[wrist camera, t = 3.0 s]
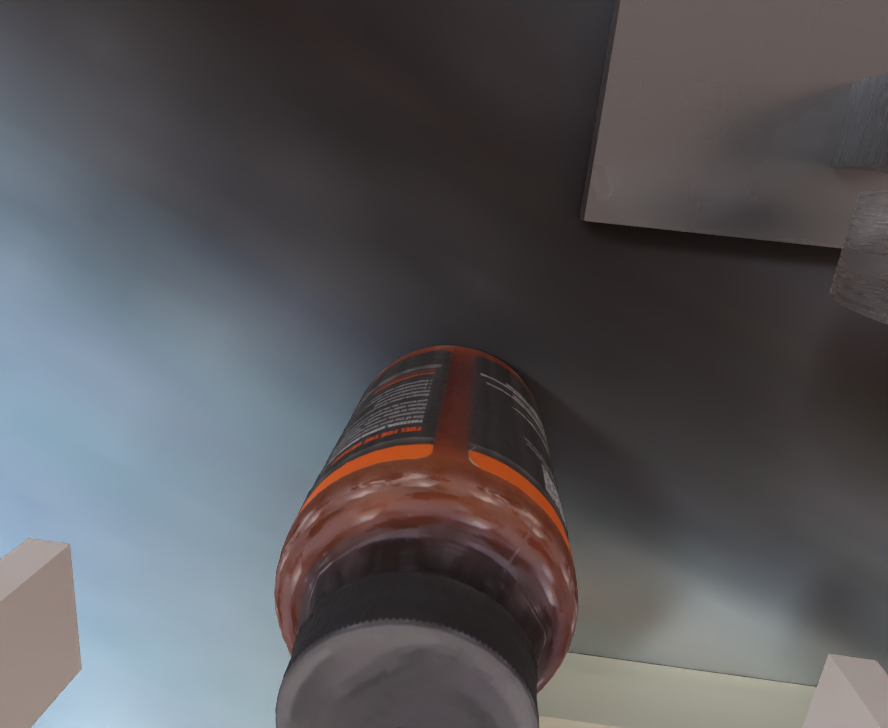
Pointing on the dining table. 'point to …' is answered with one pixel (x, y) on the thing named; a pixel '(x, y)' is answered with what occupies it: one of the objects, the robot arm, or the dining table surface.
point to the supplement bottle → (429, 558)
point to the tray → (665, 697)
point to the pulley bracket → (750, 128)
